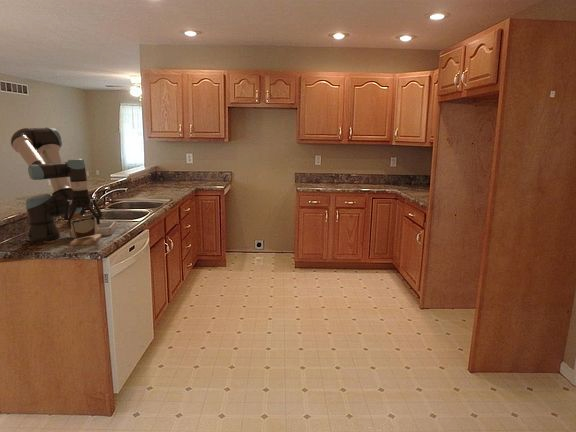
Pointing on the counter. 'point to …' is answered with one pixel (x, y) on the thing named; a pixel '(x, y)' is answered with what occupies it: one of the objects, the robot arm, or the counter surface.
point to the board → (86, 240)
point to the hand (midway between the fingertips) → (85, 231)
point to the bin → (101, 229)
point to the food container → (83, 226)
